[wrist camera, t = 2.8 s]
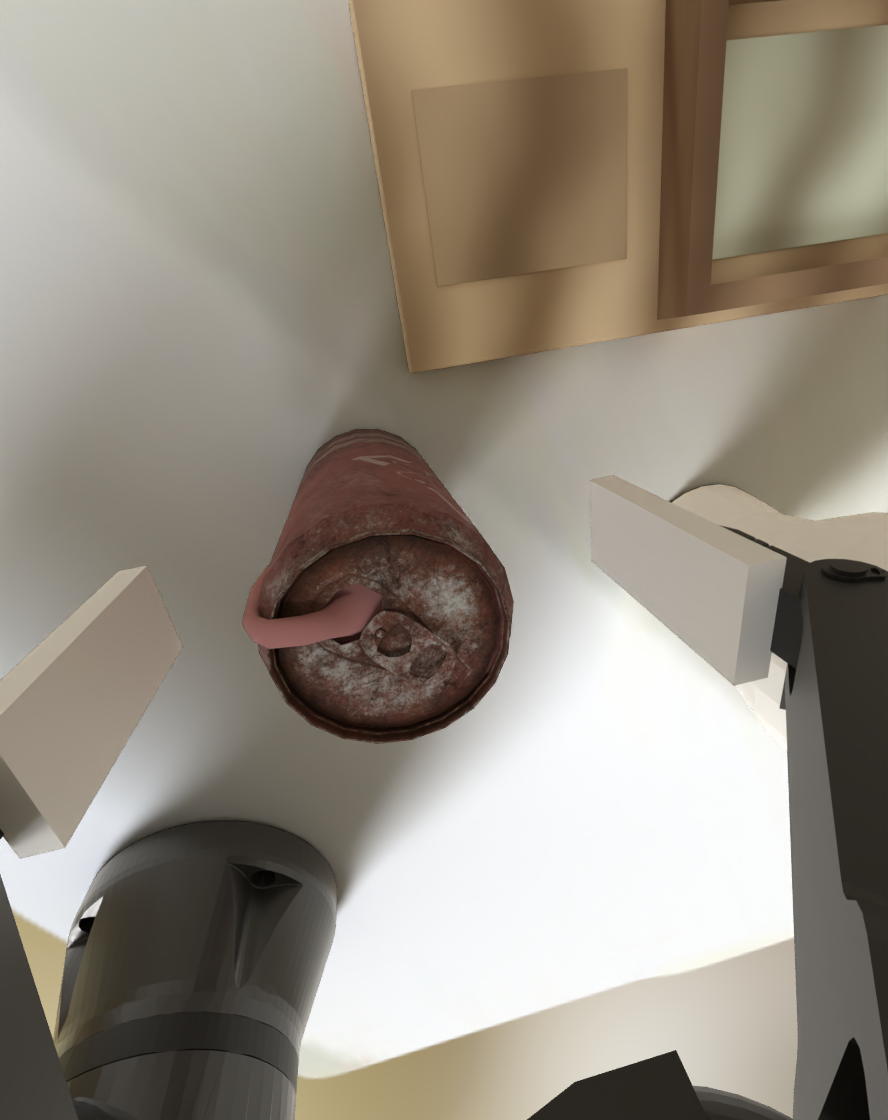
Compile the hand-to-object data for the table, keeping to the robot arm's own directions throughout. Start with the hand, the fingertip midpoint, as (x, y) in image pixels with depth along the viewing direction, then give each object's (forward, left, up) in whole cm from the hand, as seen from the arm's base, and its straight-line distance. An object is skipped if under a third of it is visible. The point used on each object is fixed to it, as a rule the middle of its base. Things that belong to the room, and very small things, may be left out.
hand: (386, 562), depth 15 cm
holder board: (+15, +11, -10) cm, 21 cm away
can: (0, 0, -10) cm, 10 cm away
